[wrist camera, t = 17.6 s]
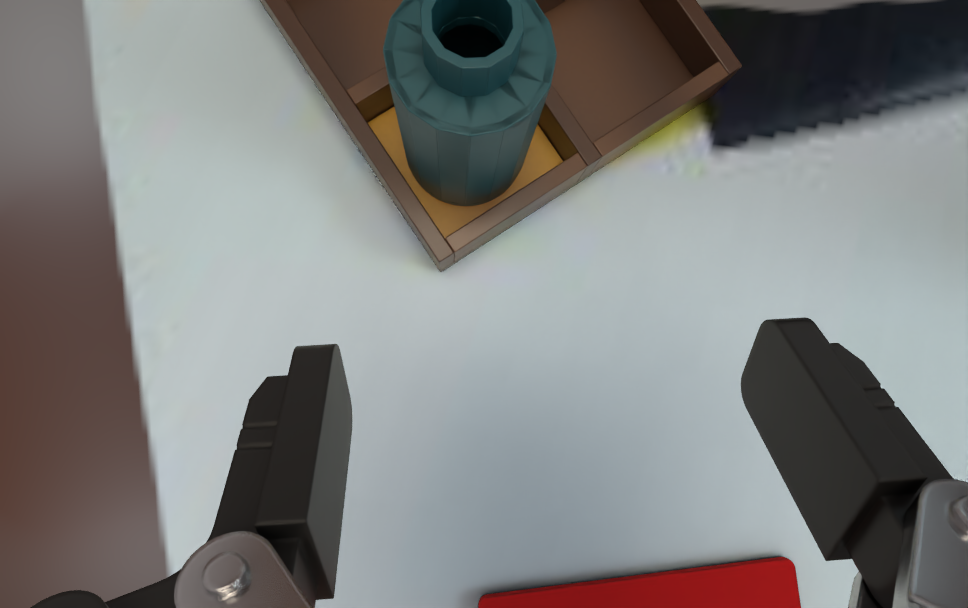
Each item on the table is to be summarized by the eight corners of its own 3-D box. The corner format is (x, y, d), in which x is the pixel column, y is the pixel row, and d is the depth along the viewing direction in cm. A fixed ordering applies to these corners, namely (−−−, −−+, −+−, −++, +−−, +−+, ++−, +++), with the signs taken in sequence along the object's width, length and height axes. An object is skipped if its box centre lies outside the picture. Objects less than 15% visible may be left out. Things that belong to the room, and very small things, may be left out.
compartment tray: (532, -166, 33) (540, -221, 30) (714, 94, 32) (743, 65, 29) (255, -5, 31) (234, -46, 28) (440, 272, 30) (439, 262, 27)
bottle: (481, 70, 30) (498, -104, 19) (546, 166, 30) (603, 47, 19) (383, 131, 30) (339, -11, 19) (448, 228, 30) (445, 146, 18)
